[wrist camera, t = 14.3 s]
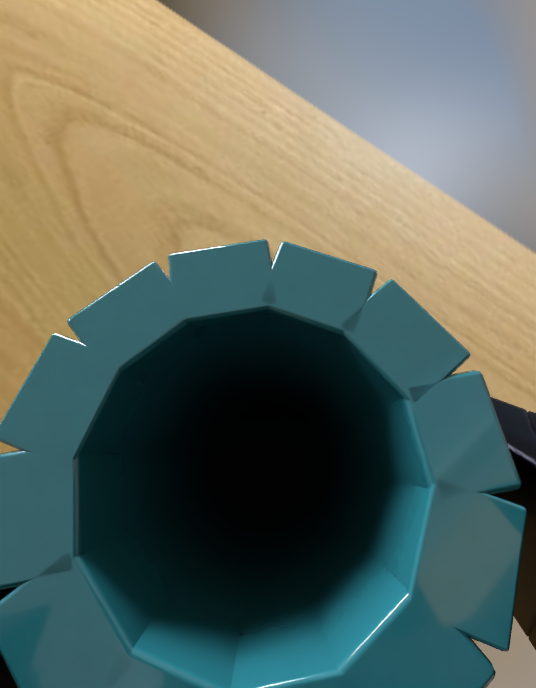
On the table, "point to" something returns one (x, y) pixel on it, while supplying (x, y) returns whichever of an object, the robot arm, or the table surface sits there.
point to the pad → (263, 461)
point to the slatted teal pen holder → (237, 529)
